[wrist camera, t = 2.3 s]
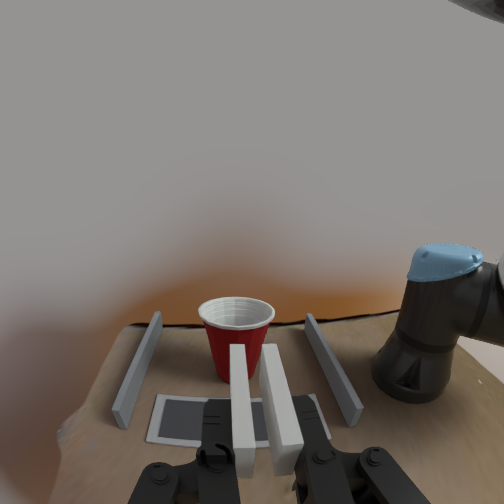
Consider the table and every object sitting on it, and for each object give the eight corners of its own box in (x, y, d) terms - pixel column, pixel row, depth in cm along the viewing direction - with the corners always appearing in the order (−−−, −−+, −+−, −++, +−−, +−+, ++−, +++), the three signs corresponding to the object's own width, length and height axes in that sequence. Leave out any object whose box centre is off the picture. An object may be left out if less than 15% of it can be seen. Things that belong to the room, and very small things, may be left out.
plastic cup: (264, 351, 46) (269, 291, 43) (274, 393, 36) (282, 326, 33) (203, 352, 45) (200, 291, 42) (200, 394, 35) (194, 326, 32)
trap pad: (314, 395, 36) (315, 392, 35) (331, 439, 27) (332, 437, 27) (158, 395, 33) (157, 393, 33) (146, 442, 25) (145, 440, 25)
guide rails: (308, 330, 54) (311, 313, 53) (355, 426, 29) (363, 407, 28) (158, 328, 51) (155, 311, 50) (119, 428, 26) (111, 409, 25)
